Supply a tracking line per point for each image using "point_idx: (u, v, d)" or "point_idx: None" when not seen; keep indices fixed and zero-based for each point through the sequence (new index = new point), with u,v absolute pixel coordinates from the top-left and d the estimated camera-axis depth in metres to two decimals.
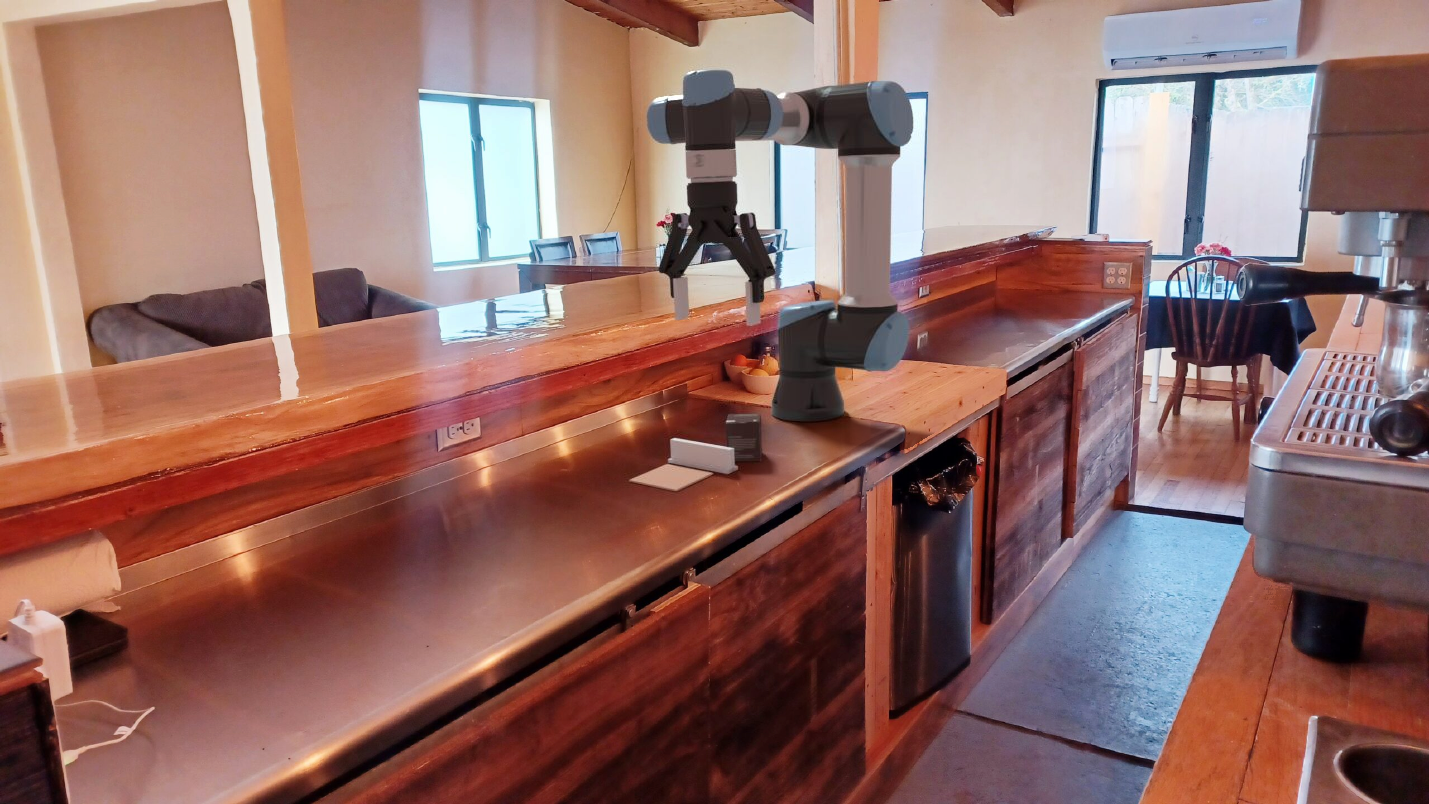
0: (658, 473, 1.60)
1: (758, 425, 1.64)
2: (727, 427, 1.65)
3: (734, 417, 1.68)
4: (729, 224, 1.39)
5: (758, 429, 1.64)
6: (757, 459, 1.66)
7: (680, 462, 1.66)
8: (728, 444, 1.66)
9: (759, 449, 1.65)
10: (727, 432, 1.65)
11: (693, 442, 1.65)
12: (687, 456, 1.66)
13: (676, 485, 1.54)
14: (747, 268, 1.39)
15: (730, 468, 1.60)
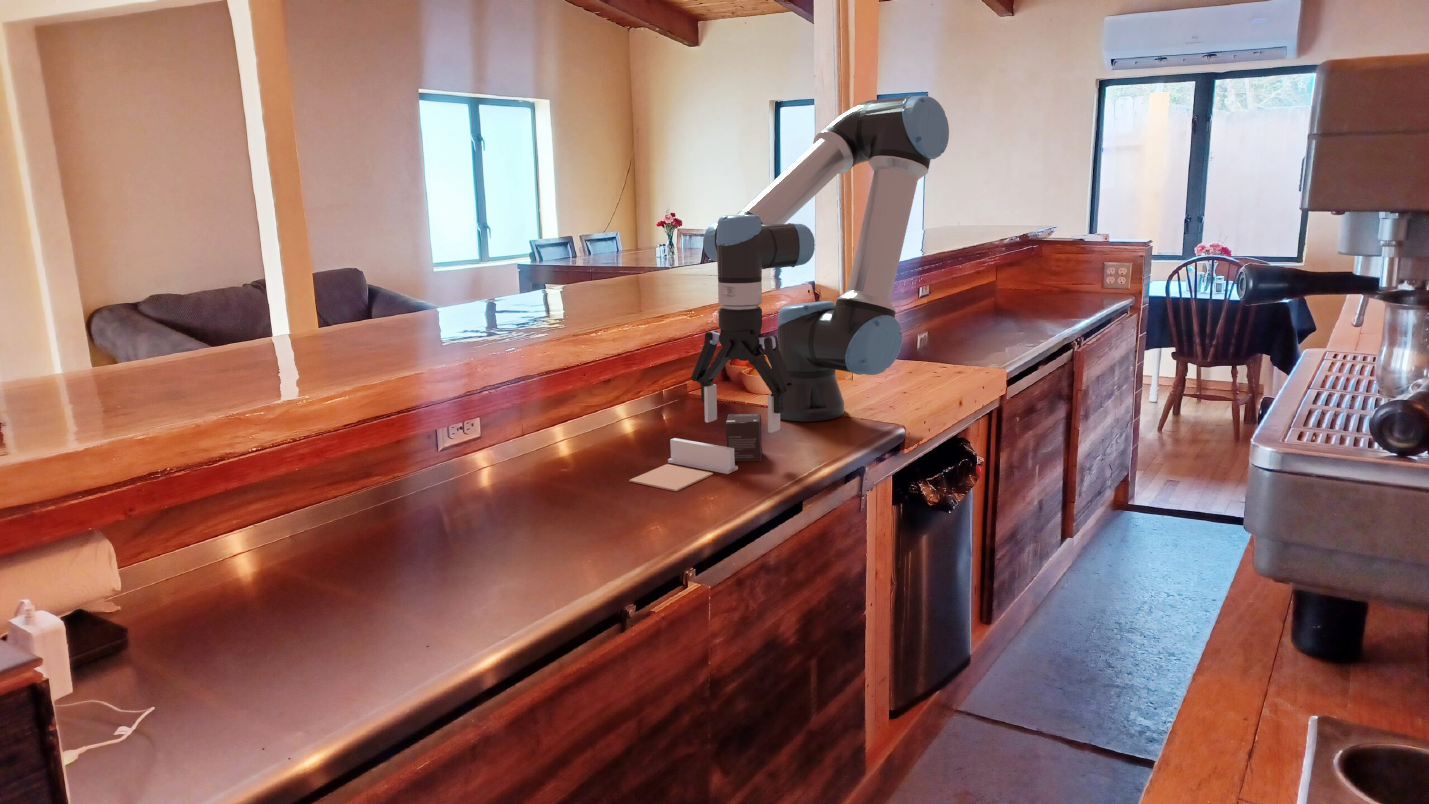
0: (658, 473, 1.60)
1: (758, 425, 1.64)
2: (727, 427, 1.65)
3: (734, 417, 1.68)
4: (755, 345, 1.61)
5: (758, 429, 1.64)
6: (757, 459, 1.66)
7: (680, 462, 1.66)
8: (728, 444, 1.66)
9: (759, 449, 1.65)
10: (727, 432, 1.65)
11: (693, 442, 1.65)
12: (687, 456, 1.66)
13: (676, 485, 1.54)
14: (770, 383, 1.60)
15: (730, 468, 1.60)
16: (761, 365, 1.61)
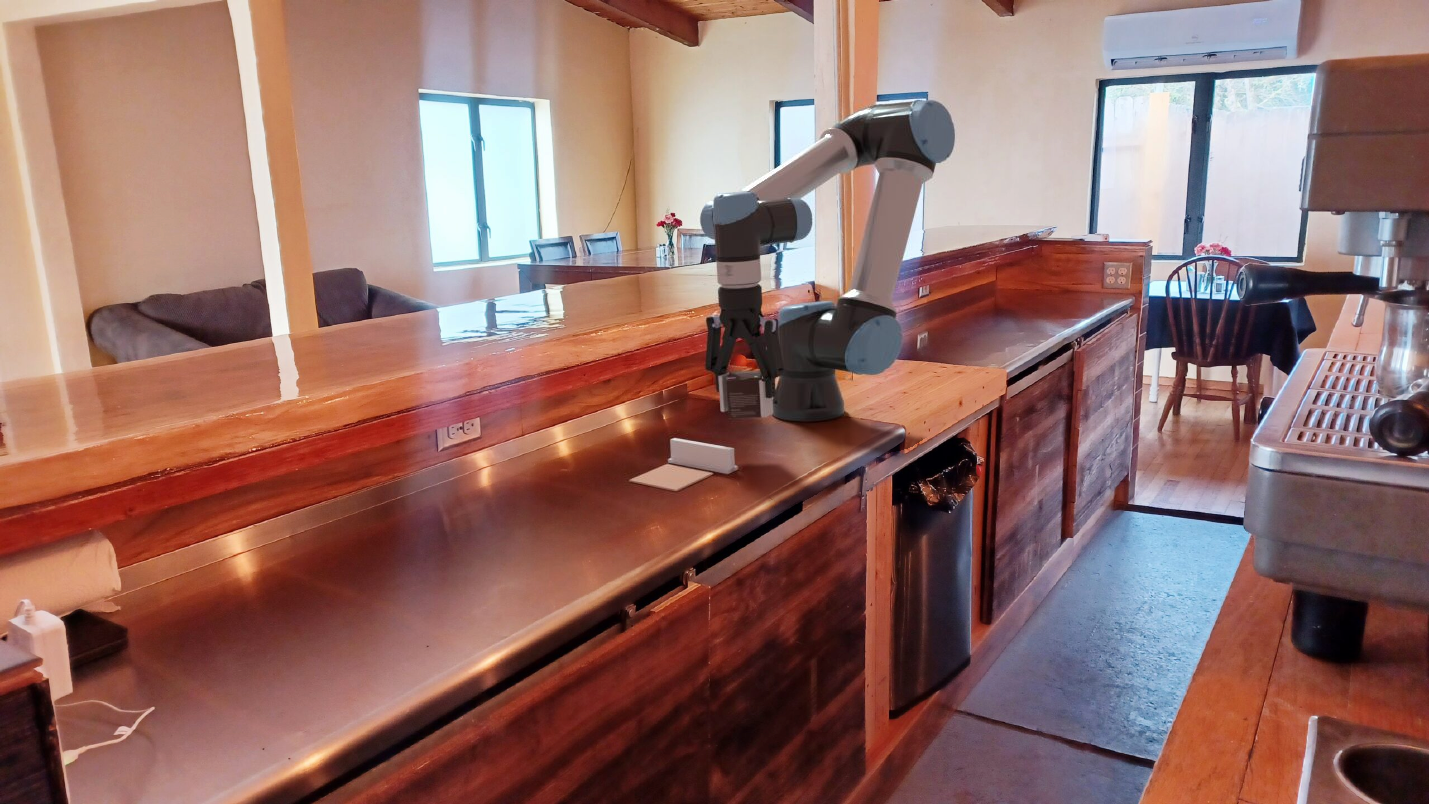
0: (658, 473, 1.60)
1: None
2: (728, 384, 1.63)
3: (735, 374, 1.66)
4: (755, 324, 1.60)
5: None
6: (759, 416, 1.64)
7: (680, 462, 1.66)
8: (729, 401, 1.64)
9: None
10: (728, 389, 1.64)
11: (693, 442, 1.65)
12: (687, 456, 1.66)
13: (676, 485, 1.54)
14: (762, 368, 1.61)
15: (730, 468, 1.60)
16: (758, 348, 1.61)
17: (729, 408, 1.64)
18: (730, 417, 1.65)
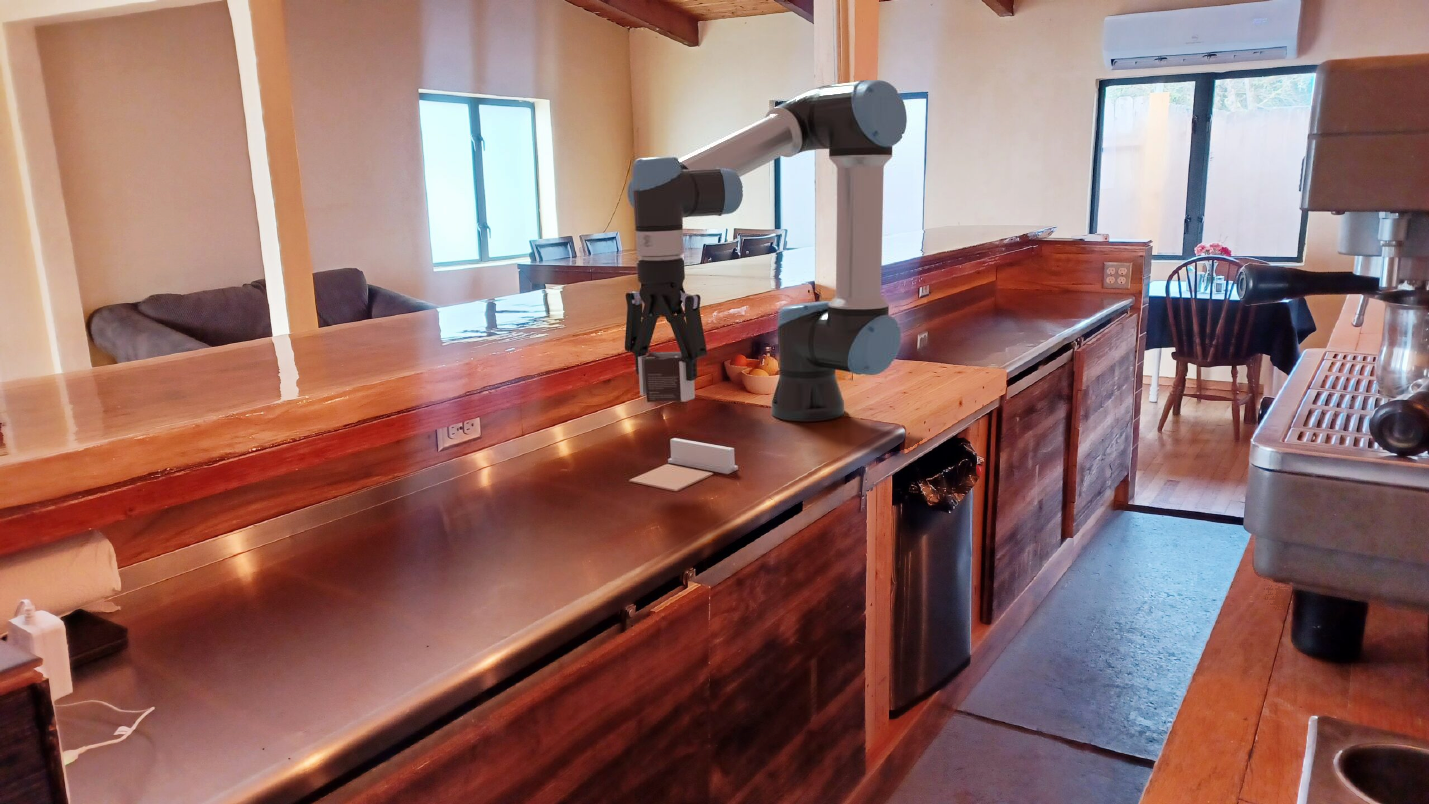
0: (658, 473, 1.60)
1: (679, 361, 1.51)
2: (646, 364, 1.51)
3: (655, 354, 1.54)
4: (675, 300, 1.49)
5: None
6: (679, 400, 1.52)
7: (680, 462, 1.66)
8: (647, 383, 1.52)
9: None
10: (646, 369, 1.52)
11: (693, 442, 1.65)
12: (687, 456, 1.66)
13: (676, 485, 1.54)
14: (683, 348, 1.50)
15: (730, 468, 1.60)
16: (678, 326, 1.50)
17: (647, 390, 1.52)
18: (648, 400, 1.53)
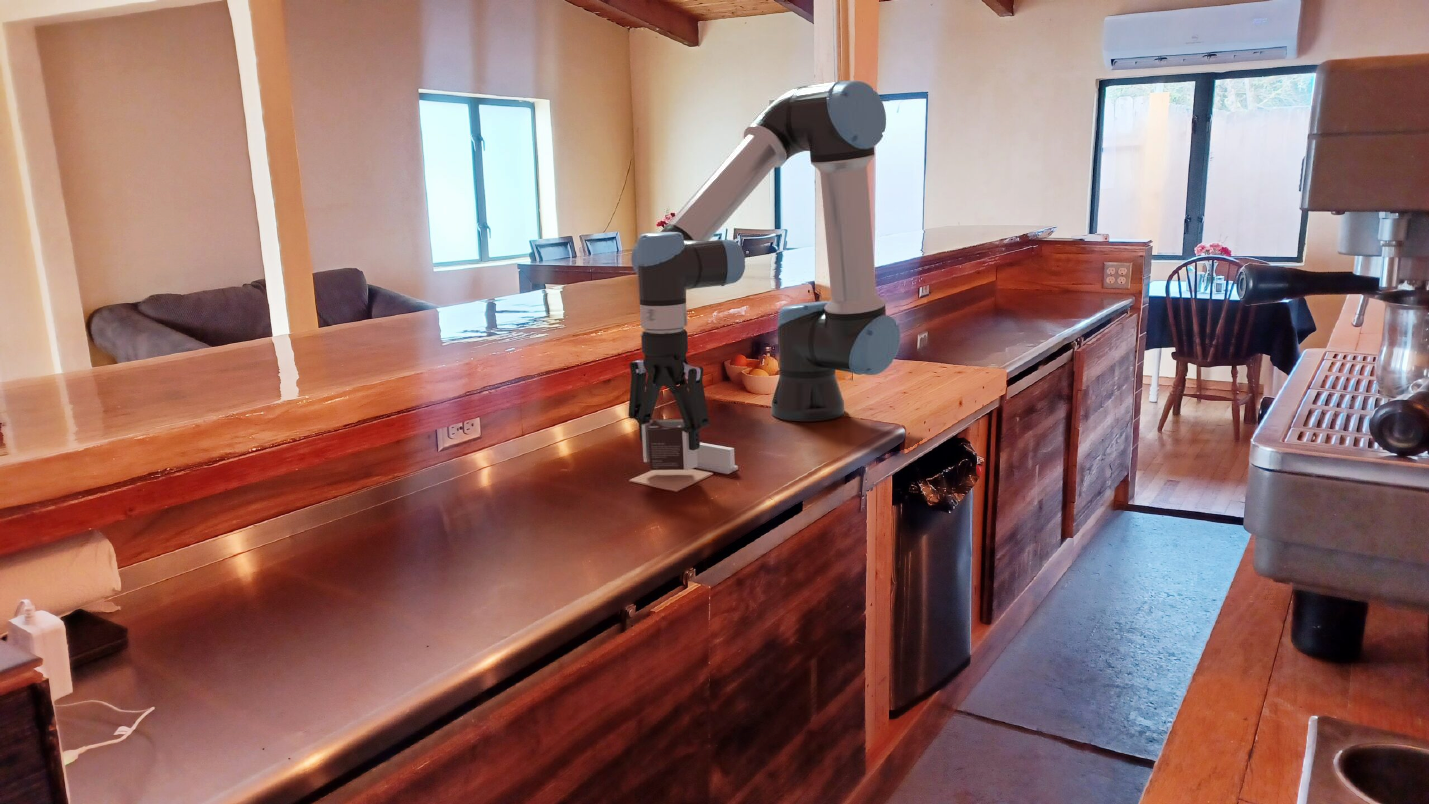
0: (658, 473, 1.60)
1: None
2: (649, 433, 1.54)
3: (658, 423, 1.57)
4: (678, 372, 1.52)
5: None
6: (682, 468, 1.55)
7: None
8: (651, 451, 1.55)
9: None
10: (649, 438, 1.54)
11: None
12: None
13: (676, 485, 1.54)
14: (686, 418, 1.52)
15: (730, 468, 1.60)
16: (681, 397, 1.52)
17: (650, 459, 1.55)
18: (651, 468, 1.55)
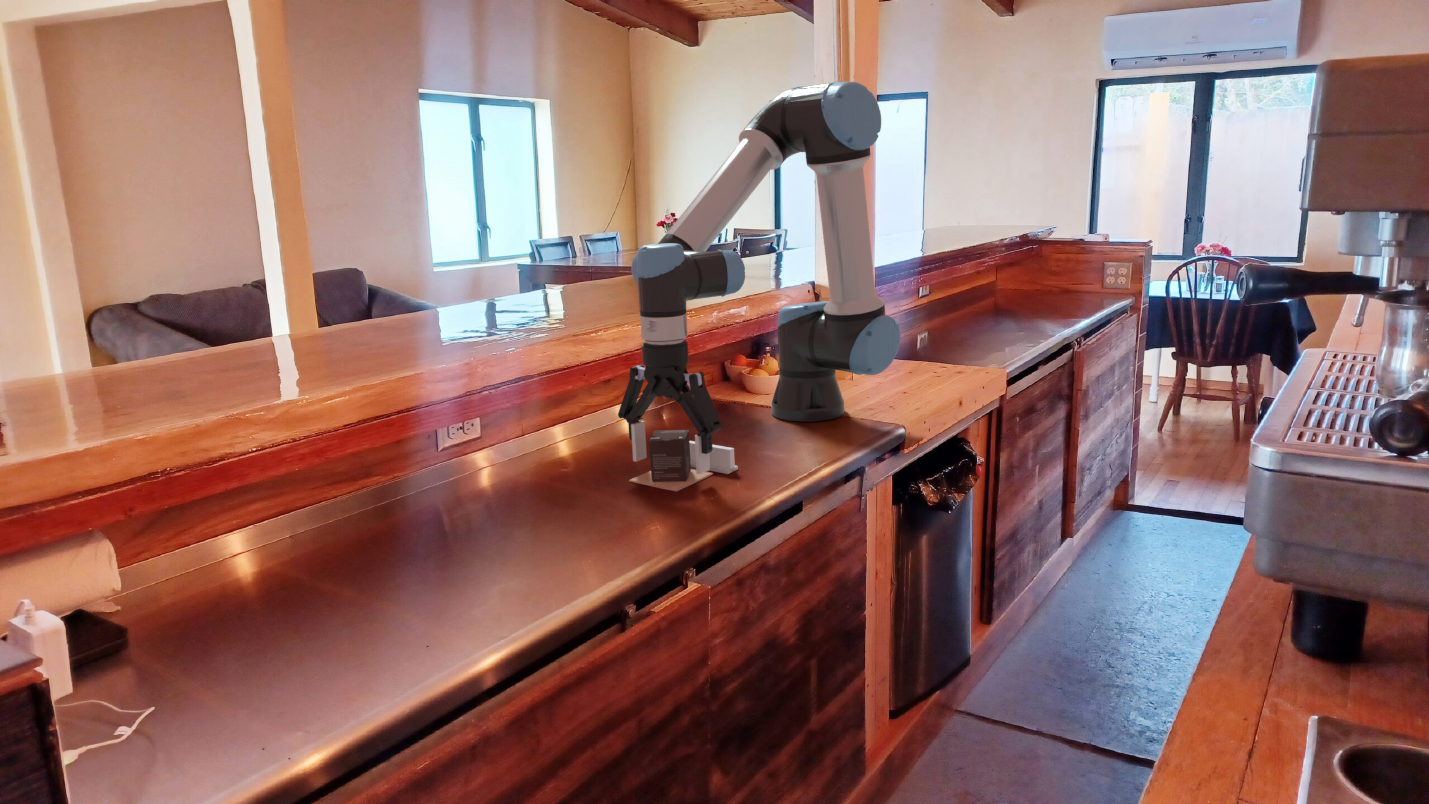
0: None
1: (683, 442, 1.54)
2: (651, 445, 1.55)
3: (660, 434, 1.58)
4: (680, 382, 1.52)
5: (683, 447, 1.54)
6: (683, 479, 1.56)
7: None
8: (652, 463, 1.55)
9: (685, 468, 1.55)
10: (651, 450, 1.55)
11: (693, 442, 1.65)
12: None
13: (676, 485, 1.54)
14: (696, 422, 1.51)
15: (730, 468, 1.60)
16: (687, 403, 1.52)
17: (652, 470, 1.56)
18: (653, 479, 1.56)
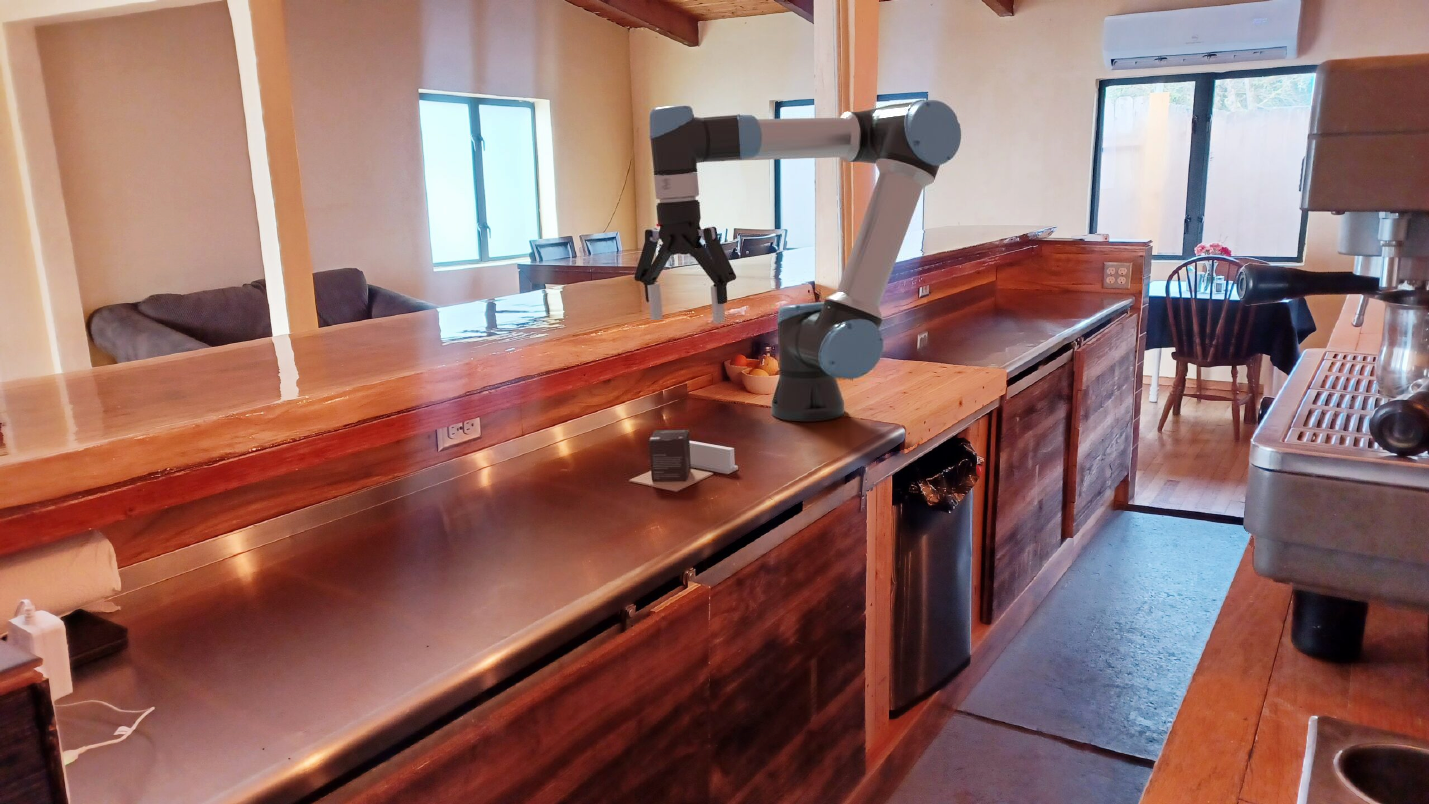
0: None
1: (683, 442, 1.54)
2: (651, 445, 1.55)
3: (660, 434, 1.58)
4: (694, 237, 1.62)
5: (683, 447, 1.54)
6: (683, 479, 1.56)
7: None
8: (652, 463, 1.55)
9: (685, 468, 1.55)
10: (651, 450, 1.55)
11: (693, 442, 1.65)
12: None
13: (676, 485, 1.54)
14: (712, 274, 1.62)
15: (730, 468, 1.60)
16: (702, 257, 1.62)
17: (652, 470, 1.56)
18: (653, 479, 1.56)
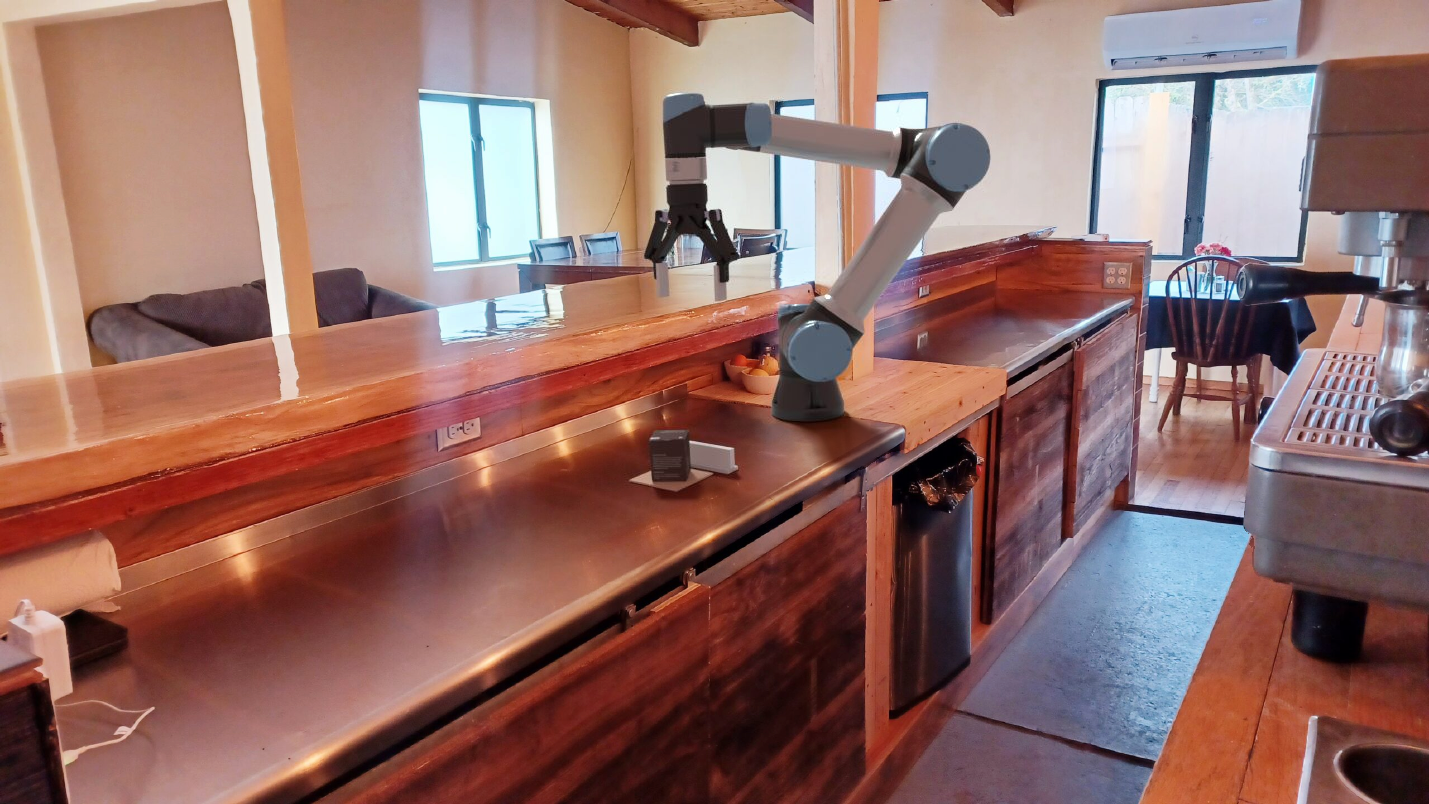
0: None
1: (683, 443, 1.54)
2: (651, 445, 1.55)
3: (660, 434, 1.58)
4: (700, 218, 1.71)
5: (683, 447, 1.54)
6: (683, 479, 1.56)
7: None
8: (652, 463, 1.55)
9: (685, 468, 1.55)
10: (651, 450, 1.55)
11: (693, 442, 1.65)
12: None
13: (676, 485, 1.54)
14: (715, 254, 1.70)
15: (730, 468, 1.60)
16: (707, 237, 1.71)
17: (652, 470, 1.56)
18: (653, 479, 1.56)
